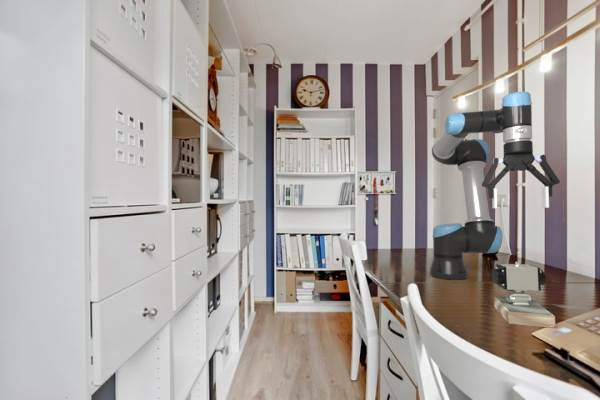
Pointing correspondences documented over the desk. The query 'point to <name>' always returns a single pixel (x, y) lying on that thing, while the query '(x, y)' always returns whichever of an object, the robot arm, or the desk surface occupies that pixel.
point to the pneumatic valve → (518, 281)
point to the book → (524, 313)
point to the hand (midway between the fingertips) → (519, 208)
